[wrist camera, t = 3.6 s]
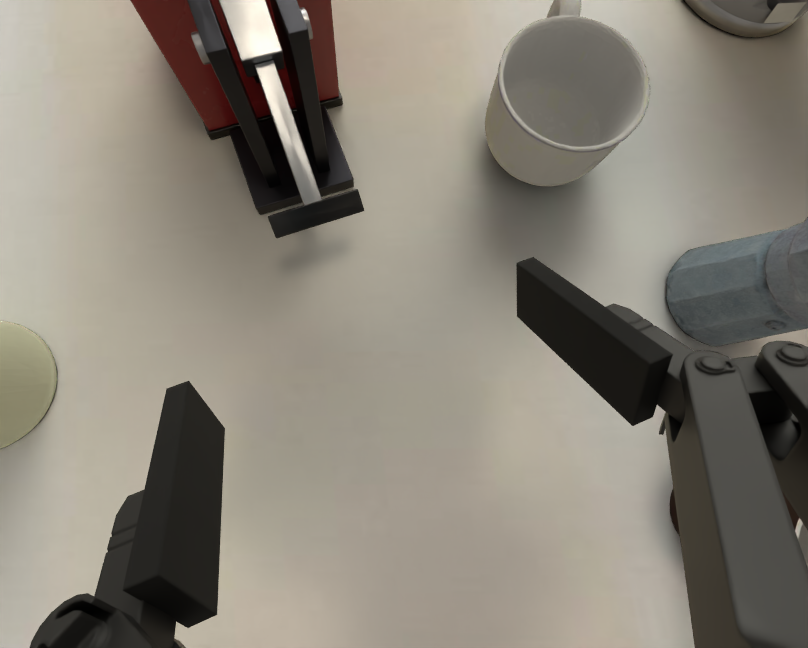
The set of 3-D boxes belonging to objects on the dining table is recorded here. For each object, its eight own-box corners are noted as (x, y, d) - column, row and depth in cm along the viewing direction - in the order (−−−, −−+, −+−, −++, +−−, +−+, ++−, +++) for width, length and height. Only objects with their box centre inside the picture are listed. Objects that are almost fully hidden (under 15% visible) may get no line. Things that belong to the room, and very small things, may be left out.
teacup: (578, 217, 34) (641, 165, 27) (459, 183, 34) (488, 121, 26) (600, 83, 37) (664, 0, 29) (491, 50, 36) (526, -44, 29)
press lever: (360, 211, 26) (365, 210, 23) (277, 237, 25) (275, 238, 22) (294, 6, 22) (294, -19, 20) (196, 28, 21) (183, 4, 19)
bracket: (354, 187, 33) (346, 44, 19) (260, 215, 32) (181, 84, 18) (326, 114, 34) (300, -71, 20) (233, 139, 32) (139, -39, 19)
